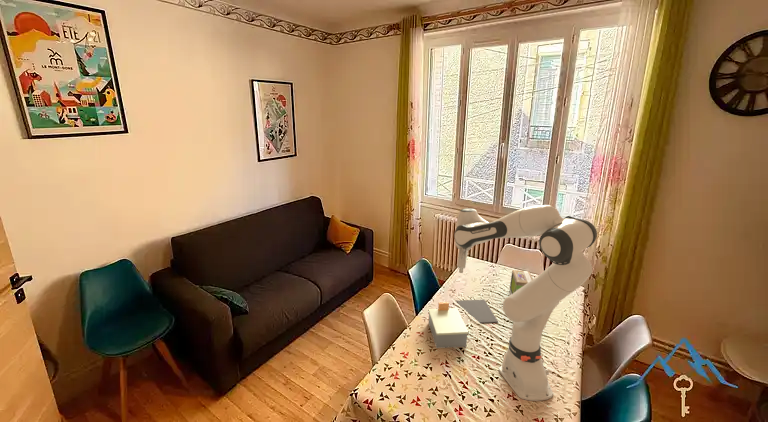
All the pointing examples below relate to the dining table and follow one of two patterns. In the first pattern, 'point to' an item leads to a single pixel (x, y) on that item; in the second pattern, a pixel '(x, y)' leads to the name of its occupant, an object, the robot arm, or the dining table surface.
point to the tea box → (519, 280)
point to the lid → (447, 320)
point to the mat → (478, 310)
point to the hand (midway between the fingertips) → (461, 267)
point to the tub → (447, 338)
